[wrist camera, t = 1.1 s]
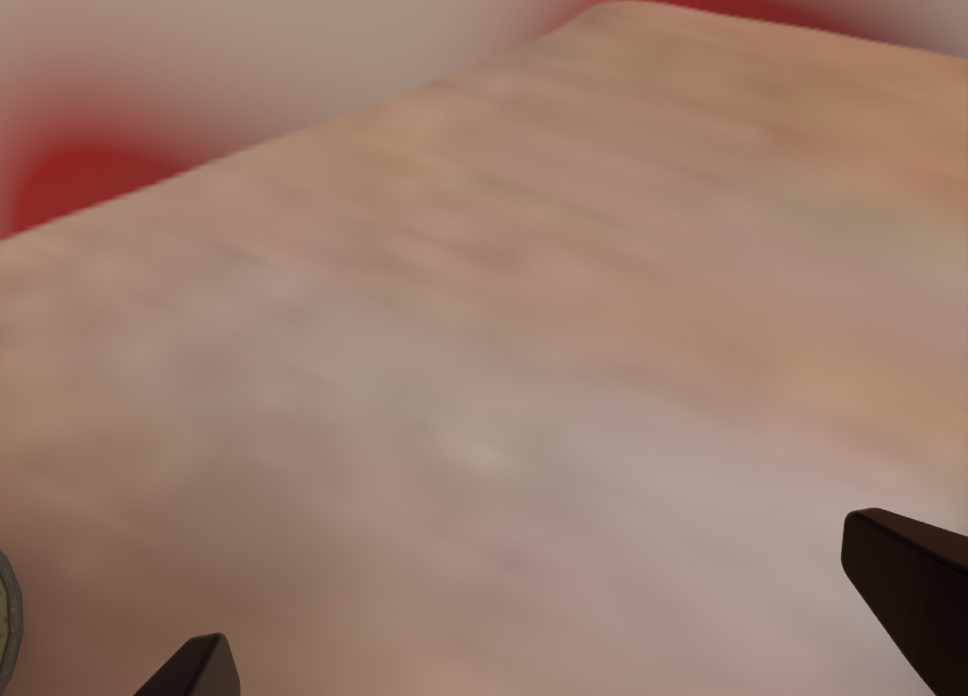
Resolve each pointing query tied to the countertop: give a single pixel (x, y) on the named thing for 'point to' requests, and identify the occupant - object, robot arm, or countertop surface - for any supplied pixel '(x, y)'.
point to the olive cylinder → (9, 621)
